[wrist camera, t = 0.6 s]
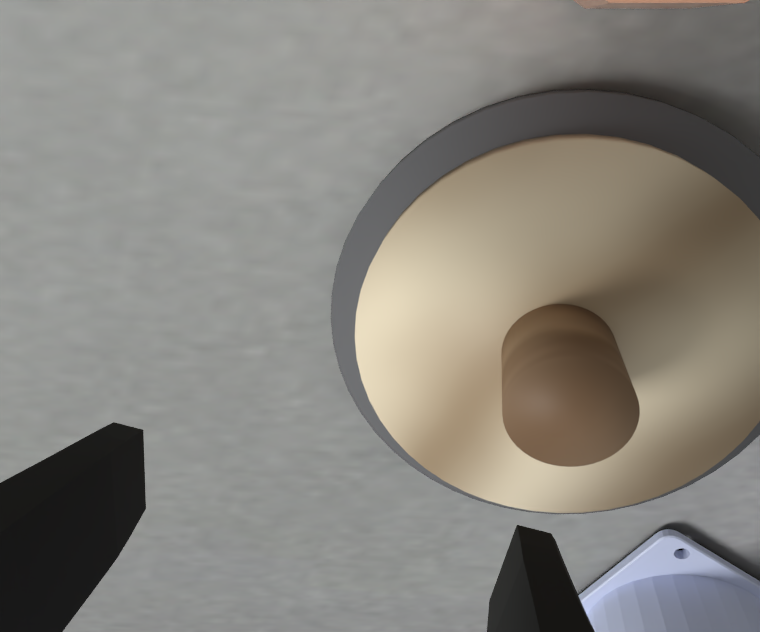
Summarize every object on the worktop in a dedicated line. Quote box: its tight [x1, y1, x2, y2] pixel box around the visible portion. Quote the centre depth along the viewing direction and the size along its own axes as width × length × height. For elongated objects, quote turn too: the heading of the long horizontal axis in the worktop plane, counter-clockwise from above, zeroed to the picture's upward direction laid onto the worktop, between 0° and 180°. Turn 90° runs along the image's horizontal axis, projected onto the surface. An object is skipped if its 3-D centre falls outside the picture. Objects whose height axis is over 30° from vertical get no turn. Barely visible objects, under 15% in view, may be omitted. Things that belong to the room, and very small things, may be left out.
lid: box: [355, 134, 760, 513], centre depth 16 cm, size 12×12×4 cm
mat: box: [331, 89, 760, 514], centre depth 18 cm, size 14×14×1 cm
